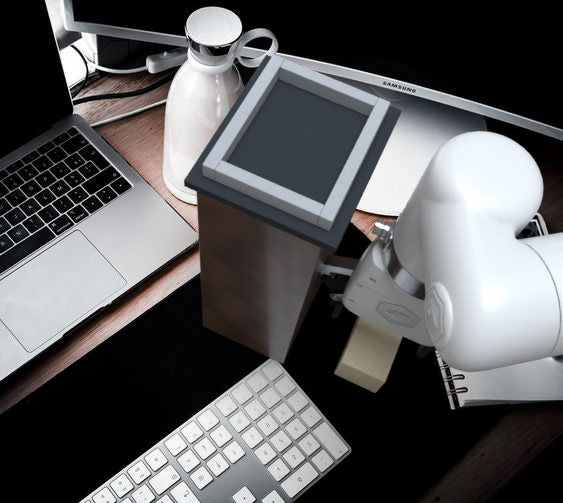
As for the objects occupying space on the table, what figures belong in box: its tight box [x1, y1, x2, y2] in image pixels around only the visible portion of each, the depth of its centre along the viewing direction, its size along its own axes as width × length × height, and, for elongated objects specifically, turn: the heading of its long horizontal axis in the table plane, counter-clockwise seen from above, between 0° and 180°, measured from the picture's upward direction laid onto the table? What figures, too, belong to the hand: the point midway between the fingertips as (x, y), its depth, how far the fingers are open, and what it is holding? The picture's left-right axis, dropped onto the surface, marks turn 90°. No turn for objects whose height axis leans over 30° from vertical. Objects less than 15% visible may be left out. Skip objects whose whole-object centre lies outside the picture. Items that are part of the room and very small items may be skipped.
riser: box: [196, 192, 335, 365], centre depth 60 cm, size 10×14×28 cm
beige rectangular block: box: [333, 315, 404, 394], centre depth 68 cm, size 5×9×4 cm, turn 156°
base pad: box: [183, 54, 402, 254], centre depth 46 cm, size 12×14×2 cm
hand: (380, 325), depth 65 cm, fingers open, 9 cm apart
